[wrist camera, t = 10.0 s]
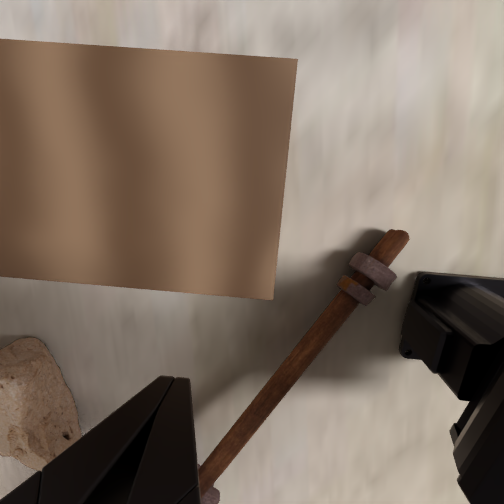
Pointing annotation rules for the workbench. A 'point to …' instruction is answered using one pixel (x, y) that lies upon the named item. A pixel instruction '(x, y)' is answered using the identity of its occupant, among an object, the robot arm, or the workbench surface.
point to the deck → (143, 166)
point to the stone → (34, 405)
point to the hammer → (304, 354)
